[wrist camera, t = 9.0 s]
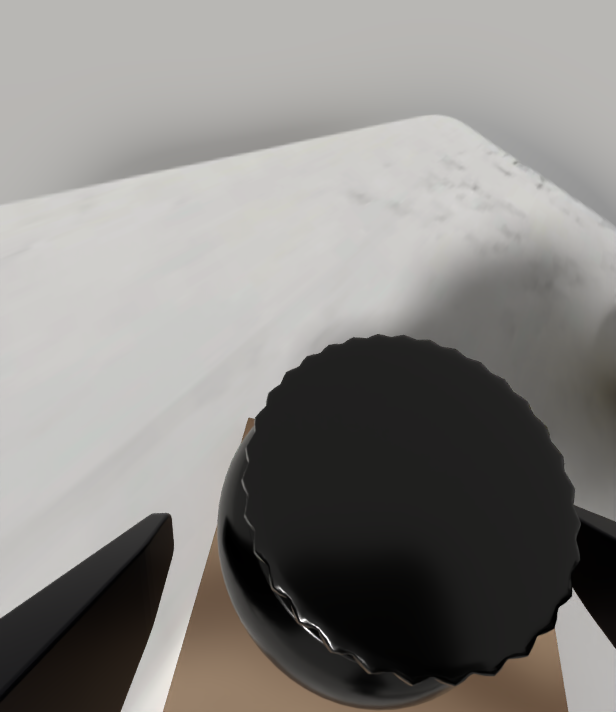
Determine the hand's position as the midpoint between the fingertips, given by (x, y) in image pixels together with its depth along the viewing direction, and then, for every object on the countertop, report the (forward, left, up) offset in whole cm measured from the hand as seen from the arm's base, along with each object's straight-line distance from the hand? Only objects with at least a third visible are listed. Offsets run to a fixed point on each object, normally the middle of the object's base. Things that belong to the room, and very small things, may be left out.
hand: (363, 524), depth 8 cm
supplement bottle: (0, 0, -8) cm, 8 cm away
